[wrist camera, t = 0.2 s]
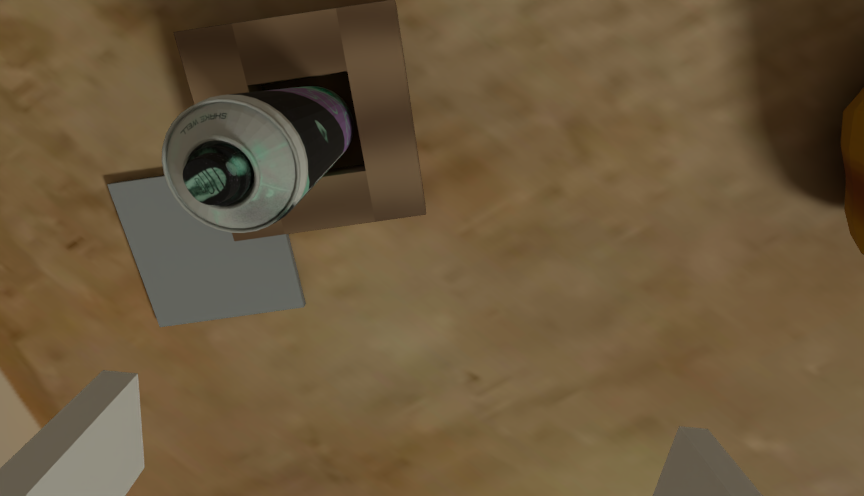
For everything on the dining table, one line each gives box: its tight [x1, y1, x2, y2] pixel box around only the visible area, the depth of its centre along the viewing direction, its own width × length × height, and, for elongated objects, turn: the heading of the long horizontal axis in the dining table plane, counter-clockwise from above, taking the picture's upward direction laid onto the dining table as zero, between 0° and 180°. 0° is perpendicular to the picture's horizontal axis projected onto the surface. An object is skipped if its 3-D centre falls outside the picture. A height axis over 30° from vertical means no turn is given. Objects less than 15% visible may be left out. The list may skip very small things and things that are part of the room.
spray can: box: [162, 86, 354, 233], centre depth 26 cm, size 6×6×20 cm
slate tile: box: [107, 175, 306, 327], centre depth 38 cm, size 12×12×1 cm
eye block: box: [174, 0, 426, 241], centre depth 34 cm, size 14×14×3 cm
